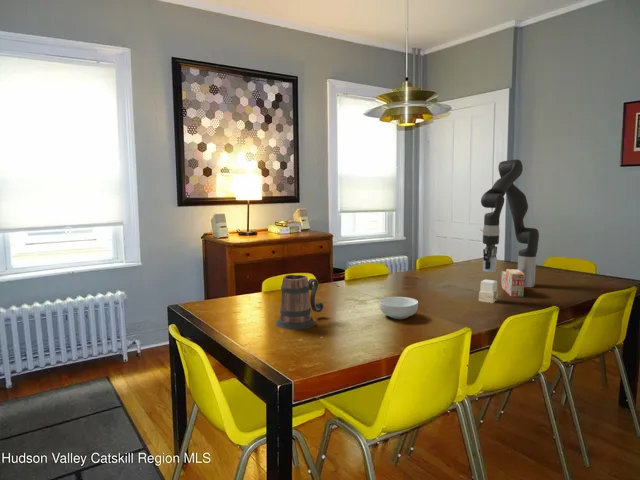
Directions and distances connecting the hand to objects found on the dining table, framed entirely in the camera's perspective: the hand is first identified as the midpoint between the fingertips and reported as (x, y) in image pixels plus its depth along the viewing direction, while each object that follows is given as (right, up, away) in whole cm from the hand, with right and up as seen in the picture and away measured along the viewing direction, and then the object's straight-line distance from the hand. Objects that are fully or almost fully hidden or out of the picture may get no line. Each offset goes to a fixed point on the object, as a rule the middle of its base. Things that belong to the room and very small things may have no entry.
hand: (489, 268), depth 225 cm
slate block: (0, -2, 0) cm, 1 cm away
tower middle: (0, -12, +1) cm, 12 cm away
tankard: (-92, -21, -32) cm, 100 cm away
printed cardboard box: (+19, -14, +20) cm, 31 cm away
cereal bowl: (-50, -20, -25) cm, 59 cm away
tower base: (0, -17, +2) cm, 17 cm away
